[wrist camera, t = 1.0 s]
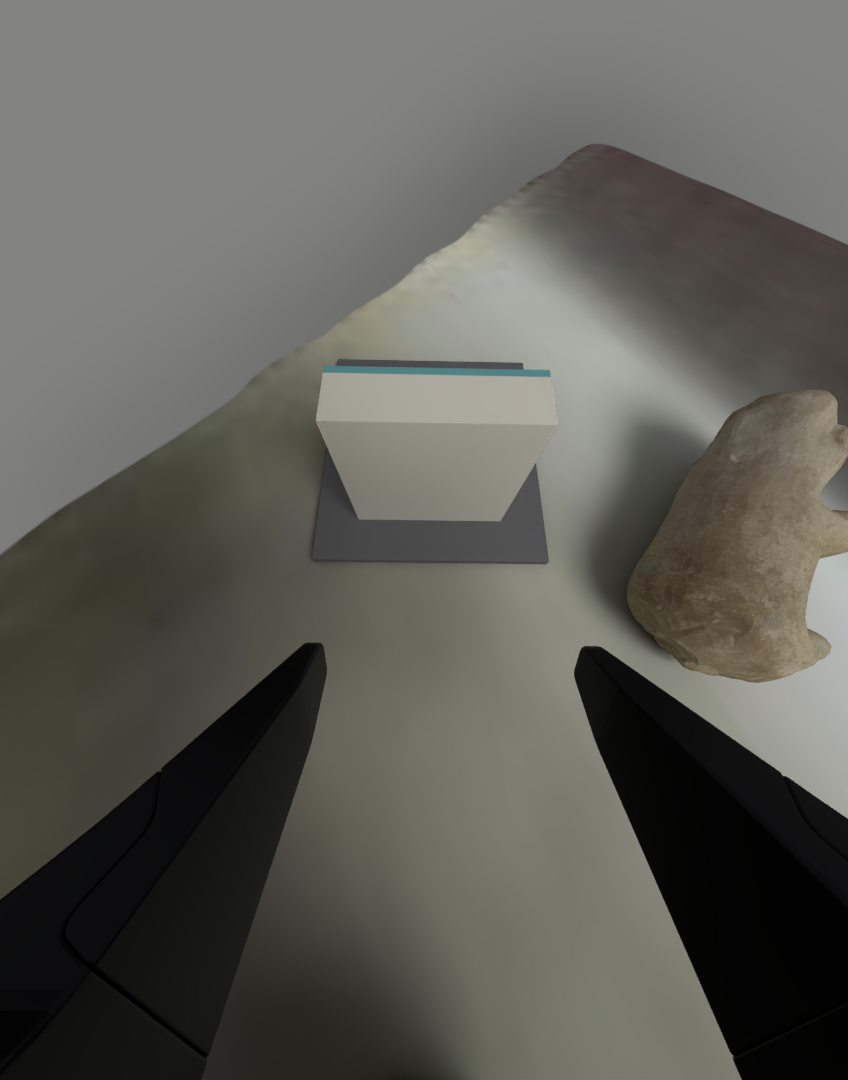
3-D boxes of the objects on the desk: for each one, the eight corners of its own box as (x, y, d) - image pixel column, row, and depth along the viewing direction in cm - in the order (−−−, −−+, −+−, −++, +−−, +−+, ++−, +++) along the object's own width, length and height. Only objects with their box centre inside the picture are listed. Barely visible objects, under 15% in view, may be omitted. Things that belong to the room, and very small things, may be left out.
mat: (546, 563, 22) (548, 561, 22) (314, 561, 22) (311, 559, 21) (520, 367, 28) (522, 362, 28) (339, 364, 28) (338, 359, 28)
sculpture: (875, 500, 21) (933, 347, 15) (807, 740, 16) (858, 641, 10) (704, 490, 28) (702, 382, 22) (617, 656, 22) (585, 569, 17)
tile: (500, 521, 23) (558, 425, 13) (358, 519, 22) (315, 420, 13) (497, 484, 24) (549, 370, 14) (361, 482, 23) (324, 365, 14)
